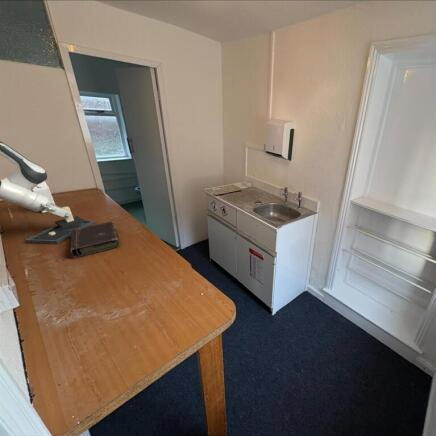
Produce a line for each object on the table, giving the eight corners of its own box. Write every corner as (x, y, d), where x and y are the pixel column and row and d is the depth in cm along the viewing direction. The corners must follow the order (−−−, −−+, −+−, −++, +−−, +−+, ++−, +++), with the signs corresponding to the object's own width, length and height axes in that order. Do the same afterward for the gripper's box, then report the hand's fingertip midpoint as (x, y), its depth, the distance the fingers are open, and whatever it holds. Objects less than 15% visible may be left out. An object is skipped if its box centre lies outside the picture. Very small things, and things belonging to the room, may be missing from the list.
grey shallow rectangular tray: (26, 243, 115) (24, 240, 115) (68, 222, 138) (68, 219, 138) (57, 243, 116) (56, 240, 115) (94, 223, 139) (93, 220, 138)
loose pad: (62, 228, 125) (56, 212, 121) (55, 223, 129) (49, 208, 126) (85, 221, 133) (80, 207, 129) (77, 217, 137) (72, 203, 134)
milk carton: (39, 210, 152) (27, 182, 145) (54, 207, 158) (43, 180, 150) (42, 213, 149) (30, 184, 141) (57, 210, 154) (46, 182, 147)
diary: (72, 259, 105) (68, 249, 103) (73, 237, 122) (70, 229, 120) (121, 246, 116) (119, 238, 114) (116, 228, 133) (114, 220, 131)
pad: (33, 240, 117) (32, 236, 116) (52, 231, 126) (50, 228, 125) (54, 241, 117) (52, 237, 116) (71, 232, 126) (69, 228, 125)
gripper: (49, 201, 114) (80, 213, 126) (35, 193, 123) (65, 205, 135) (40, 212, 112) (73, 224, 124) (26, 203, 122) (58, 215, 133)
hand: (68, 214), depth 130 cm, fingers closed on loose pad, 3 cm apart
